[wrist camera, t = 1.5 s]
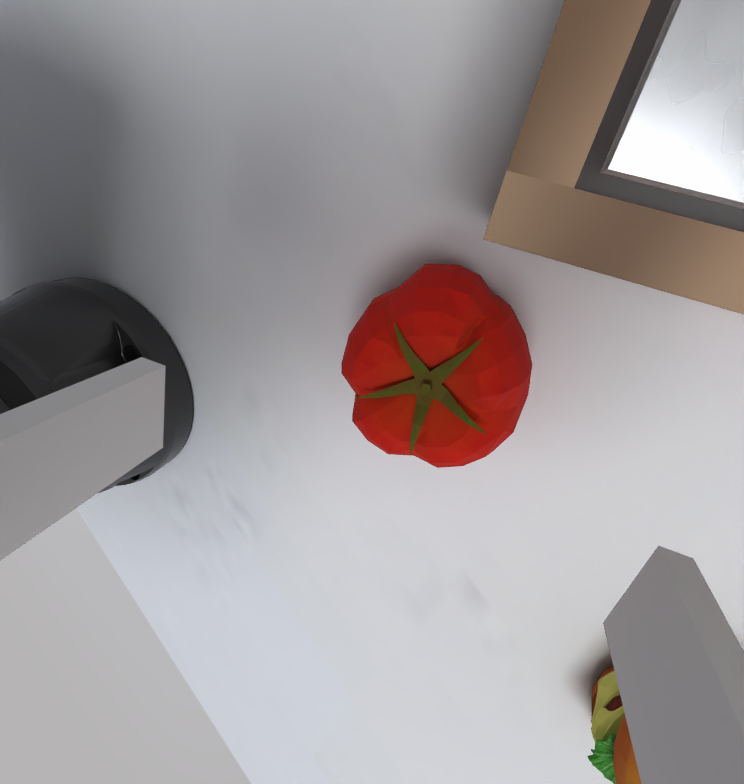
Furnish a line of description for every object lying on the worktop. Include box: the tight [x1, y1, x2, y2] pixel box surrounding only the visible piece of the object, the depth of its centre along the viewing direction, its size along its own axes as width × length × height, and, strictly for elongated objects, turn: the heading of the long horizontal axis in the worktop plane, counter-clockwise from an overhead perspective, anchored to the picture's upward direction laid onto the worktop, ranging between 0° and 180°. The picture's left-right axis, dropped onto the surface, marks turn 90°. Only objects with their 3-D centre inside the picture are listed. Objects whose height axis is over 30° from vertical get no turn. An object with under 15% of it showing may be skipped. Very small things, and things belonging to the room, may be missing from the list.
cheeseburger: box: [588, 666, 641, 784], centre depth 25 cm, size 10×11×10 cm
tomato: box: [342, 264, 532, 467], centre depth 21 cm, size 9×9×8 cm
